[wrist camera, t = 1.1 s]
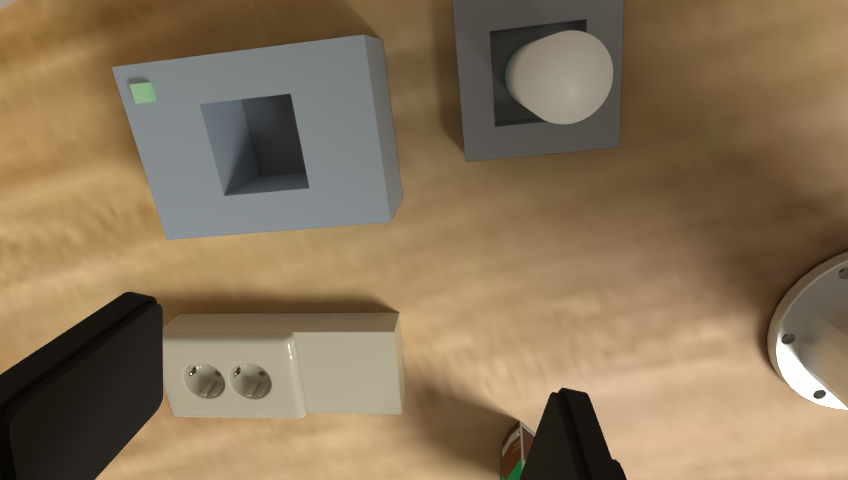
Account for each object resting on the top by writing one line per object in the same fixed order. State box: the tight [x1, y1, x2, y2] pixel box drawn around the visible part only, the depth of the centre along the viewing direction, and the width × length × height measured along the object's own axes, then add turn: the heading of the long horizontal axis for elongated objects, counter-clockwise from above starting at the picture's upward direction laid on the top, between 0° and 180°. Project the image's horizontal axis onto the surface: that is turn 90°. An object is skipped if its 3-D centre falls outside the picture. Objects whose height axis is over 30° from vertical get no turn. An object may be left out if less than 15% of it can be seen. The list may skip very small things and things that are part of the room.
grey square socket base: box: [452, 0, 624, 162], centre depth 27 cm, size 9×9×2 cm
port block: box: [112, 34, 403, 240], centre depth 28 cm, size 14×10×6 cm
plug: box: [504, 30, 613, 124], centre depth 24 cm, size 4×4×10 cm
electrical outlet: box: [163, 313, 406, 419], centre depth 36 cm, size 7×4×18 cm
